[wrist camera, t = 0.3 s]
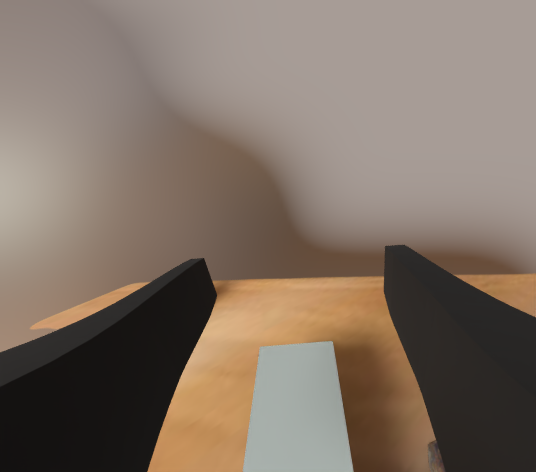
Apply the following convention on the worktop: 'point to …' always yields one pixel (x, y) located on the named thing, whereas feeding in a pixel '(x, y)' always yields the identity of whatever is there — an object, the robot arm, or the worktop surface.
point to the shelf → (297, 412)
